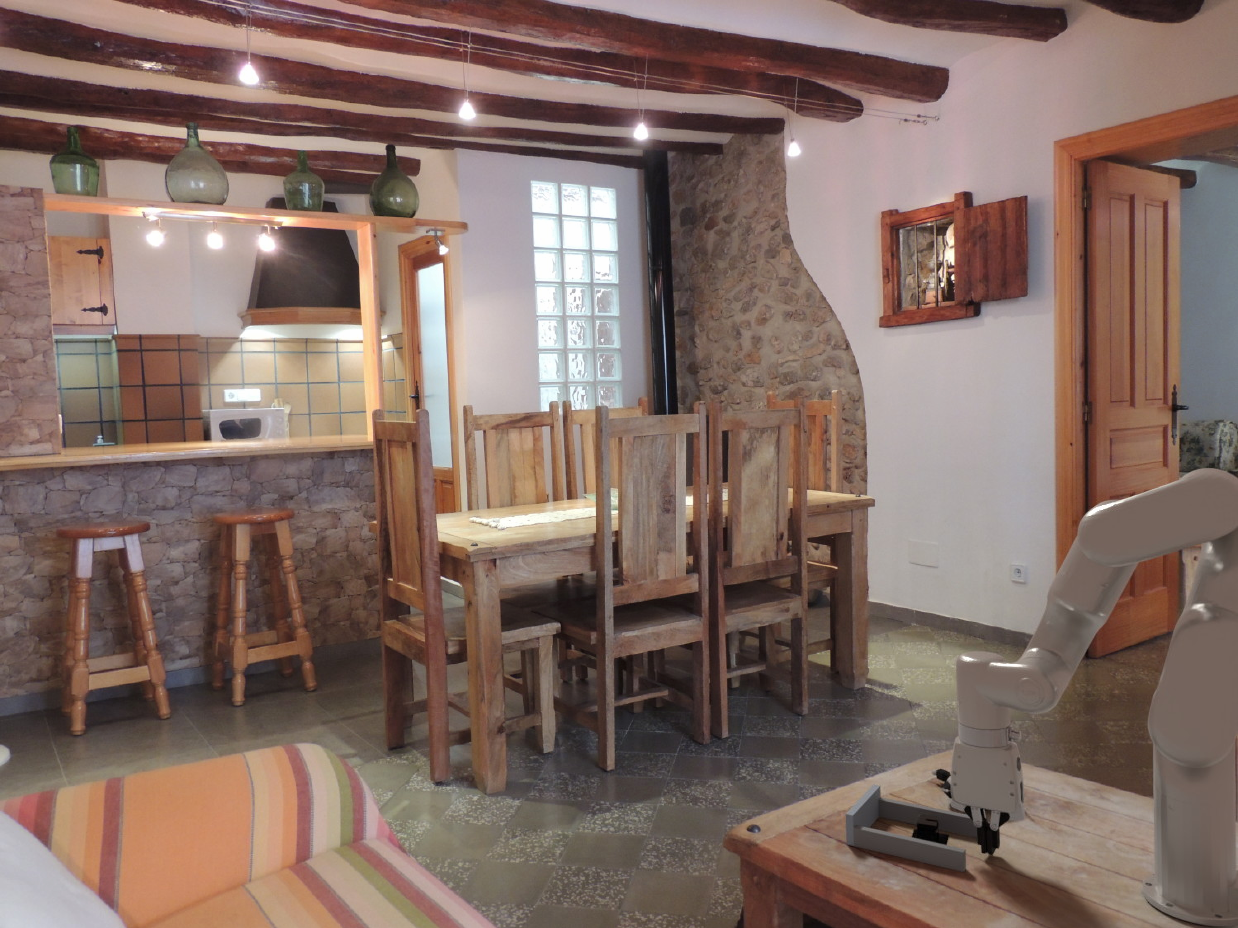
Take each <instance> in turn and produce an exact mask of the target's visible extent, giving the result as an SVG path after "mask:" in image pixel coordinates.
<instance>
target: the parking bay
mask: <svg viewBox="0 0 1238 928" xmlns="http://www.w3.org/2000/svg"><path fill="white" fill-rule="evenodd" d="M881 793H882V792H881V785H877V784H872V786H870V788H869V789H868V790H867V791H866V792H865V793H864V794H863V795H862V796H861V797H860V798H859V799H858V800H857V801H856V803H855V804H853V806H851V808H850V809H849V810H848V811H847V812H846V813H845V834H846V836H845V837H846V841H845V842H846V845H847V846H853V847H856V848H860V849H865V850H869V851H872V852H877V853H881V854H886V855H890V856H894V857H898V858H902V859H905V860H910V861H915V862H920V863H924V864H928V865H932V866H935V867H941V868H944V869H947V870H948V869H949V870H953V871H957V872H961V873H965V871H966V869H967V861H966V860H967V856H966V850H967V849H966V848H962V847H961V848H960V847H956V846H953V845H948V844H947V845H944V844H939V843H935V842H930V841H926V840H921V839H917V838H912V836H908V835H903V834H900V833H899V834H898V833H893V832H889V831H885V830H881V829H878V828H877V829H875V828H873V827H872V826H873V824H875V822H876V821H877V820H878V819H879V818H883V819H887V820H891V821H898V822H902V823H907V824H909V825H914V826H917V821H918V818H919V815H920V814H923V815H930V816H937V817H938V822H939V831H942V832H948V833H952V834H958V835H962V836H967V837H971V838H975V839H977V827H976V826H975V825H974V822H973V821H972V820H971V818H970V817H969V816H968V815H967V814H966V813H960V812H955V811H951V810H946V809H940V808H937V807H932V806H925V805H922V804H917V803H912V802H911V803H910V802H906V801H901V800H896V799H891V798H887V797H881ZM871 827H872V828H871Z"/></svg>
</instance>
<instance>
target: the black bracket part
mask: <svg viewBox="0 0 1238 928" xmlns="http://www.w3.org/2000/svg"><path fill="white" fill-rule="evenodd" d="M911 837H912V838H917V839H921V840H926V841H930V842H935V843H939V844H944V845H948V842H949V839H950V834H948V833H941V832H940V830H939V822H938V817H937V816H930V815H923V814H920V815H919V818H918V821H917V825H916V828H915V829H913V830H912V833H911Z"/></svg>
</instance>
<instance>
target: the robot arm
mask: <svg viewBox="0 0 1238 928" xmlns="http://www.w3.org/2000/svg"><path fill="white" fill-rule="evenodd" d="M1199 545H1201V549H1200V553H1199V557H1198V561H1197V565H1196V567H1195V571H1194V572H1195V573H1194V577H1193V581H1192V584H1191V586H1190V590H1189V593H1188V596H1187V600H1186V603H1185V605H1184V607H1183V610H1182V613H1181V614H1180V616H1179V618H1178V619H1177V622H1176V624H1175V626H1174V629H1173V632H1172V636H1171V640H1170V642H1169V646H1168V647H1169V648H1168V651H1167V653H1166V658H1165V661H1164V664H1163V667H1162V671H1161V674H1160V677H1159V680H1158V684H1157V686H1156V689H1155V691H1154V693H1153V695H1152V698H1151V702H1150V706H1149V711H1148V714H1147V715H1148V716H1147V731H1148V735H1149V737H1150V740H1151V742H1152V749H1153V750H1152V755H1153V757H1152V764H1153V765H1152V766H1153V767H1152V768H1153V769H1152V770H1153V771H1152V773H1153V775H1152V777H1153V778H1152V779H1153V780H1152V781H1153V787H1152V788H1153V790H1152V791H1153V794H1152V795H1153V841H1154V842H1153V844H1154V845H1153V846H1154V851H1153V853H1154V854H1153V855H1154V856H1153V857H1154V874H1152V875H1151V874H1150V875H1149V876H1147V877H1146V878H1144V879H1143V881H1142V883H1141V884H1142V886H1141V888H1142V889H1141V891H1142V895H1143V897H1144V898H1145V900H1146V901H1147V902H1149V904H1151V905H1152V906H1153V907H1154V908H1156V909H1157V910H1159V911H1161V912H1163V913H1164V914H1167V915H1169V916H1170V917H1173V918H1176V919H1179V920H1181V921H1185V922H1189V923H1192V924H1197V925H1200V926H1201V925H1202V926H1210V927H1233V926H1238V870H1237V835H1236V834H1237V828H1236V826H1237V824H1236V821H1237V820H1236V819H1237V818H1236V817H1237V815H1236V812H1237V811H1236V809H1237V808H1236V807H1237V806H1236V803H1237V802H1236V799H1237V797H1236V795H1237V793H1236V792H1237V790H1236V787H1237V785H1236V784H1237V783H1236V781H1237V780H1236V778H1237V776H1236V739H1237V736H1238V477H1237V476H1235V475H1233V474H1232V473H1230V472H1228V471H1225V470H1222V469H1219V468H1214V467H1211V468H1210V467H1208V468H1207V467H1204V468H1199V469H1195V470H1192V471H1190V472H1188V473H1186V474H1184V475H1182V477H1180V479H1177V480H1176V481H1174V480H1173V481H1172V482H1169V483H1167V484H1164V485H1161V486H1158V487H1156V488H1152V489H1150V490H1147V491H1145V492H1141V493H1139V494H1135V495H1133V496H1129V497H1126V498H1123V499H1109V500H1104V501H1102V502H1099V503H1098V504H1096V505H1095V506H1094V507H1092V508H1090V509H1089V510H1088V511H1087V512H1086V513H1085V514H1084V515H1083V516H1082V519H1081V520H1080V522H1079V525H1078V527H1077V535H1076V536H1075V538H1074V540H1073V542H1072V544H1071V547H1070V548H1069V550H1068V553H1067V554H1066V557H1065V558H1064V560H1063V562H1062V564H1061V565H1060V568H1059V569H1058V572H1057V573H1056V575H1055V577H1054V578H1053V580H1052V582H1051V584H1050V586H1049V589H1048V592H1047V596H1046V597H1047V598H1046V599H1047V601H1046V607H1045V609H1044V613H1043V614H1042V617H1041V619H1040V622H1039V623H1038V625H1037V627H1036V629H1035V631H1034V633H1033V635H1032V637H1031V638H1030V641H1029V642H1028V644H1027V645H1026V648H1025V650H1024V652H1023V653H1022V655H1021V656H1020V657H1019V658H1018V660H1017V661H1014V662H1007V660H1006V658H1005V657H1003V656H1002V655H1000V654H998V653H995V652H992V651H991V652H990V651H980V650H979V651H975V650H974V651H968V652H964V653H962V654H960V655H959V656H958V657H957V659H956V661H955V675H956V676H955V677H956V678H955V679H956V680H955V681H956V696H957V697H956V699H957V700H956V702H957V704H956V705H957V728H958V729H957V730H958V735H957V736H956V737H955V738H954V743H953V747H952V755H951V769H950V774H951V796H952V799H951V801H950V806H951V807H952V808H953V809H955V810H958V811H961V812H964V814H966V815H968V816H969V817H970V818H971V820H972V821H973V822H974V825H975V826H976V827H977V838H976V839H977V840H976V841H977V845H978V846H980V853H981V854H984V855H985V854H988V856H993V855H994V853H995V852H996V849H997V850H999V848H1001V847H1000V846H1001V835H1000V834H1001V833H1000V828H1001V827H1002V826H1003V825H1005V824H1006V823H1007V822H1008V821H1013V822H1014V821H1015V822H1017V821H1023V820H1025V817H1026V811H1025V809H1024V805H1023V804H1024V803H1025V783H1024V776H1023V775H1024V774H1023V767H1022V761H1021V755H1020V751H1019V747H1018V744H1017V743H1016V742H1014V741H1021V740H1022V731H1021V730H1017V729H1015V728H1014V727H1013V724H1012V722H1011V709H1012V710H1014V711H1018V712H1023V713H1026V714H1031V715H1032V714H1033V715H1039V714H1040V715H1041V714H1045V713H1046V714H1047V712H1048V713H1049V711H1051V710H1053V709H1054V708H1055V707H1056V706H1057V704H1058V703H1059V701H1060V700H1061V698H1062V695H1063V694H1064V692H1065V690H1066V689H1067V687H1068V686H1069V684H1070V683H1071V680H1072V678H1073V676H1074V674H1075V673H1076V671H1077V669H1078V667H1079V665H1080V663H1081V661H1082V659H1083V658H1084V656H1085V655H1086V652H1087V650H1088V649H1089V648H1090V645H1091V643H1092V641H1093V639H1094V638H1095V636H1096V634H1097V633H1098V631H1100V629H1102V628H1103V626H1104V625H1105V624H1106V623H1107V621H1108V620H1109V618H1110V616H1111V614H1112V612H1113V610H1114V608H1115V606H1116V605H1117V602H1118V601H1119V599H1120V597H1121V595H1122V594H1123V592H1124V590H1125V589H1126V586H1127V585H1128V583H1129V581H1130V579H1131V577H1132V576H1133V573H1134V572H1135V570H1136V568H1137V567H1138V565H1139V563H1140V562H1141V563H1142V562H1145V561H1149V560H1153V559H1156V558H1159V557H1162V556H1165V555H1168V554H1169V555H1170V554H1172V553H1175V552H1179V551H1182V550H1185V549H1188V548H1191V547H1195V546H1199ZM985 810H987V811H991V815H990V821H989V820H988V819H987V817H986V811H985Z"/></svg>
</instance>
